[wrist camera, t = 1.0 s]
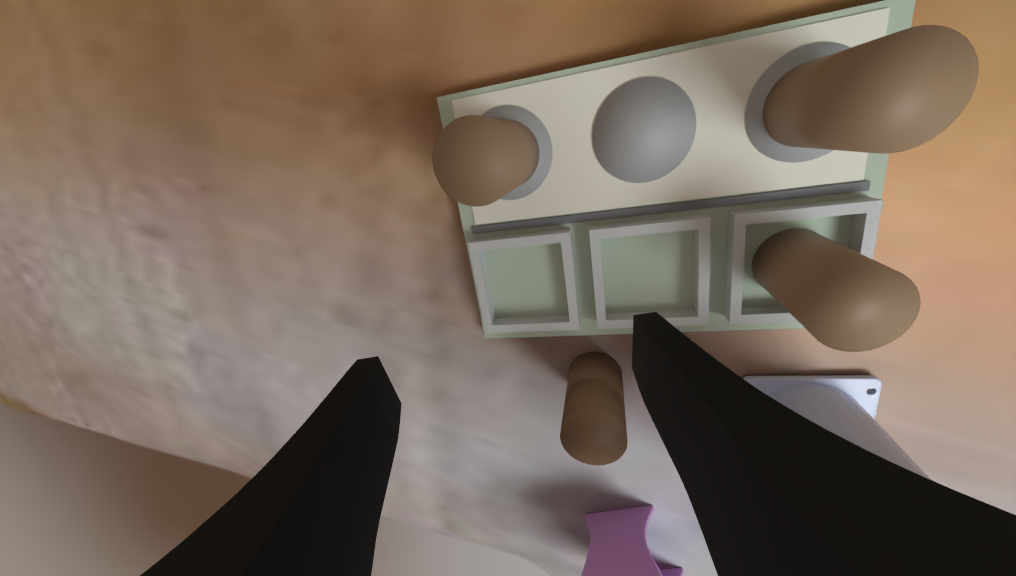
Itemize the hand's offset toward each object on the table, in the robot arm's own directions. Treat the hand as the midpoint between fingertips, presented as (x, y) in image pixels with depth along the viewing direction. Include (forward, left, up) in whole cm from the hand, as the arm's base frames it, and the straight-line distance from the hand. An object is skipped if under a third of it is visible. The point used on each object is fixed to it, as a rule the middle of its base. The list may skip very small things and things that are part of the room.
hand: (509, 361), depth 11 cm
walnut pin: (-12, -1, -17) cm, 20 cm away
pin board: (+1, -5, -17) cm, 18 cm away
